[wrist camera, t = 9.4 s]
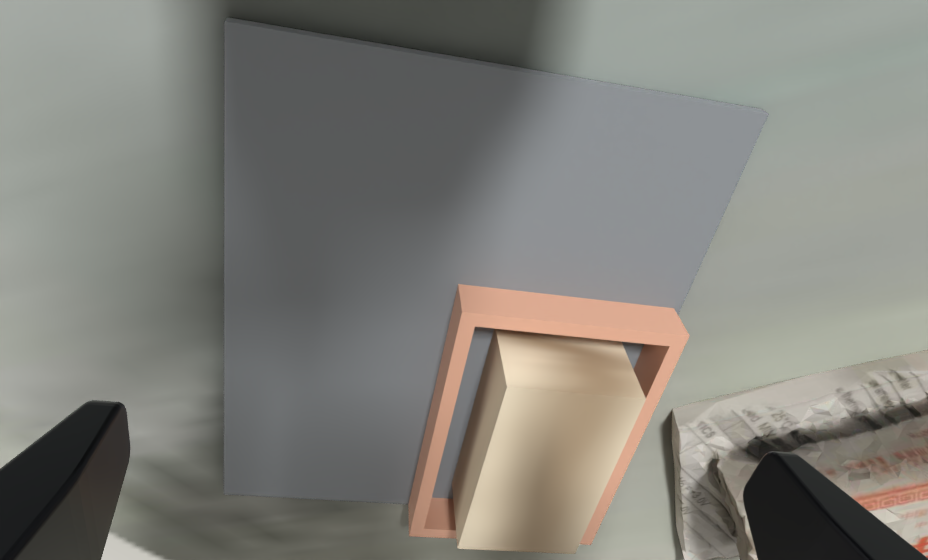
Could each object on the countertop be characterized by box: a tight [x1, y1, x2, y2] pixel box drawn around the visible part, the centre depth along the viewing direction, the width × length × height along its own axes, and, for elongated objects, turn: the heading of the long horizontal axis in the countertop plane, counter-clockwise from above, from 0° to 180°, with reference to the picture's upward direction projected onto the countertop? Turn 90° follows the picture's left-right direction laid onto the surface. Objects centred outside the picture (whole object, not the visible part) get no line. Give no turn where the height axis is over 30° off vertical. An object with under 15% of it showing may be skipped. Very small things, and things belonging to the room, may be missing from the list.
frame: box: [408, 284, 689, 545], centre depth 25 cm, size 11×8×2 cm
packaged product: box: [672, 350, 928, 560], centre depth 27 cm, size 18×5×10 cm
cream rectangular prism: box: [452, 328, 646, 554], centre depth 24 cm, size 4×8×3 cm, turn 169°
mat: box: [224, 17, 769, 504], centre depth 23 cm, size 18×15×1 cm
